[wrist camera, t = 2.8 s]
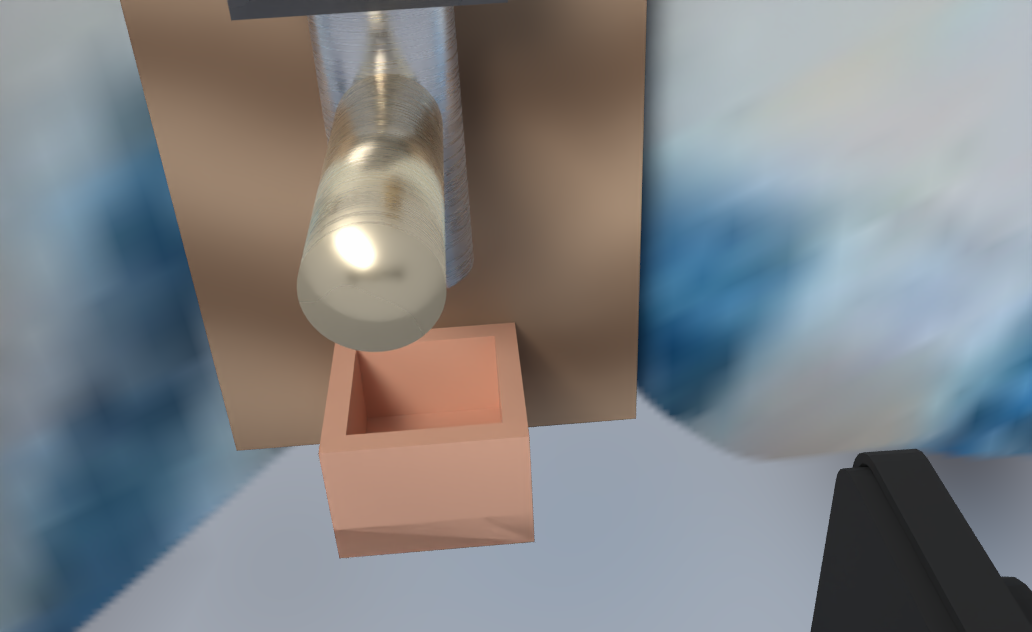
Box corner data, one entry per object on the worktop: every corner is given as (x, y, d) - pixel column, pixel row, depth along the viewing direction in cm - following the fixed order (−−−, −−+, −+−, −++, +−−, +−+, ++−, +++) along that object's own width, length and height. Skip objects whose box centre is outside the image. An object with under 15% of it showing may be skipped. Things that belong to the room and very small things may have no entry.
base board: (3, -555, 18) (-29, -573, 17) (646, -584, 19) (662, -604, 17) (244, 419, 31) (236, 450, 29) (627, 388, 31) (635, 418, 30)
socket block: (336, 336, 27) (318, 453, 23) (514, 322, 28) (529, 436, 23) (353, 433, 29) (339, 558, 25) (520, 420, 30) (534, 542, 25)
